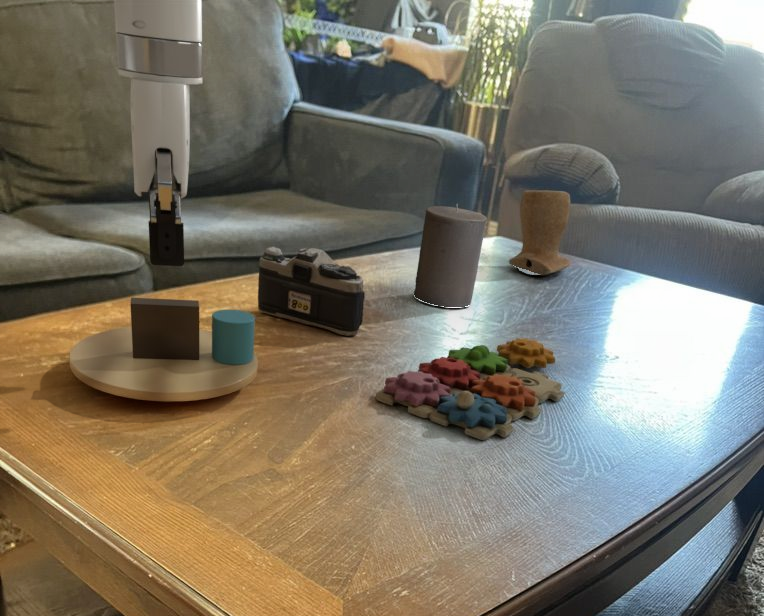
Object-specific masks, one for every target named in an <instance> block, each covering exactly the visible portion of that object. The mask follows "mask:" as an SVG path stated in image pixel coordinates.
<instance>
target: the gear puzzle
mask: <svg viewBox="0 0 764 616" xmlns="http://www.w3.org/2000/svg"><path fill="white" fill-rule="evenodd" d="M555 363H556V357H555V356H554V350H550V349H549V348H548V349H547V348H545V347H544V343H542V342H538V341H537V340H536V339H529V338H519V337H518V338H516V339H512V340H511V341H510V340H509V341H506V343H503V344H498V345H497V347H496V352H494V351H490V349H489V347H488V346H486V345H484V344H480V345H474V346H473V347H472V348H469V347H460V349H450V350H449V351H448V355H447V356H446V357H445V356H441V357H439V358H434V359H432V360H431V361H430V362H420V363H419V364H418V370H417V371H413V370H408V371H406V372H402V373H398V375H397V376H393V377H392V376H391V377H386V378H385V381H384V387H383V389H381V390H378V391H376V393H375V397H374V398H375V400H376V401H378V402H381V403H383V404H385V405H388V406H391V407H392V406H393V405H394V404H400V405H403V406H405V407H407V412H408V413H409V414H411V415H414V416H416V417H419V418H423V419H429V420H430V422H432V423H436V424H438V425H440V426H443V427H448V426H449V424H450V425H451V424H452V425H455V426H458V427H460V428H463V429H464V434H465V435H466V436H470V437H473V438H474V439H477V440H481V441H486V440H488V439H489V438H491V437H492V436H494V435H498V436H500V437H502V438H507V437H508V436H510V435H511V434H513V433H514V429H515V426H513V425H512V424H511V423H512V422H514V421H517V420H519V419H520V418H522V417H524V416H525V417H527V418H529V419H531V420H534V419H535V418H537V417H539V416H540V415H541V413H542V408H541V407H539V406H538V405H539V404H542V403H544V402H545V401H547V400H552V401H554V402H555V403H557V402H559V401H560V400H562V399H564V396H565V391H563V390H562V386H563V384H562V383H561V382H559V381H556V380H553V379H550V376H549V375H548V374H545V373H542V372H539V371H535V370H533V371H532V372H529V371H525V370H523V369H519V368H516V367H515V368H514V367H513V368H511V366H510V365H521V366H522V367H524V368H527V369H530V368H532V367H538V368H541V369H546V368H547V365H553V364H555Z"/></svg>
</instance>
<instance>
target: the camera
mask: <svg viewBox="0 0 764 616" xmlns="http://www.w3.org/2000/svg"><path fill="white" fill-rule="evenodd" d="M258 266H259V267H258V268H259V269H258V284H257V286H258V287H257V288H258V289H257V307H258V310H259V312H261V313H263V314H267V315H270V316H273V317H277V318H280V319H287V320H289V321H292V322H293V321H294V322H297V323H300V324H304V325H307V326H314V327H317V328H321V329H325V330H328V331H330V332H333V333H335V334H338V335H341V336H347V337H348V336H349V337H350V336H353V337H354V336H356V335H357V334H358V332H359V330H360V327H361V326H362V324H363V317H364V306H365V304H364V302H365V294H366V293H365V290H364V281H365V279H364V278H363V277H362V276H360V275H358V273H357V272H356V270H355V269H354V268H352V267H351V266H349V265H339V264H338V263H335V261H334V260H333V259H332V258H331V257H330V255H329V254H328V253H326V252H325V251H324V250H323V249H320V248H315V247H310V248H306V247H305V248H300V249H299V251H298V253H297V255H296V256H294V257H292V258H289V257H285V256H284V254H283V252H282V250H281V249H280V248H279V247H275V246H273V245H272V246H270V247H267V248H266V249H265V251H264V253H263V255H262V256H261V257H260V258H259V265H258Z"/></svg>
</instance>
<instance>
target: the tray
mask: <svg viewBox="0 0 764 616" xmlns="http://www.w3.org/2000/svg"><path fill="white" fill-rule="evenodd" d="M130 320H131V321H130V326H125V327H117V328H113V329H108V330H103V331H100V332H97V333H94V334H91V335H88V336H86V337H85V338H83V339H81V340H79V341H77V342H76V343H75V344H74V345H73V347H72V348H71V349H70V351H69V354H68V355H69V358H68V359H69V368H70V371H71V372H72V374H73V375H74V376H75V377H76V378H77V379H78V380H79V381H81V382H82V383H84V384H85V385H87V386H89V387H90V388H91V387H92V388H93V389H95V390H98V391H101V392H104V393H107V394H111V395H114V396H118V397H122V398H128V399H134V400H142V401H153V402H189V401H199V400H200V401H201V400H208V399H212V398H218V397H221V396H226V395H229V394H231V393H234V392H237V391H239V390H241V389H243V388H245V387H247V386H248V385H250V384H251V383H252V382H253V381H254V380H255V379H256V377H257V375H258V370H259V360H258V356H257V355H256V353H255V352H254V353H253V360H252V361H251V362H250V363H247V364H242V365H229V364H223V363H220V362H217V361H215V360H214V359H213V358H212V330H207V329H201V328H200V302H199V300H195V299H193V300H192V299H174V298H173V299H170V298H152V297H151V298H148V297H130Z"/></svg>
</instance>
